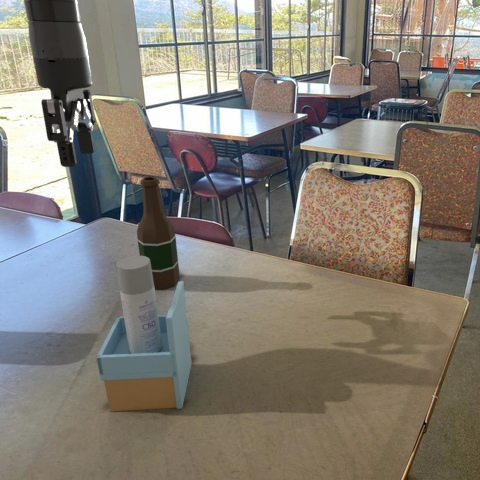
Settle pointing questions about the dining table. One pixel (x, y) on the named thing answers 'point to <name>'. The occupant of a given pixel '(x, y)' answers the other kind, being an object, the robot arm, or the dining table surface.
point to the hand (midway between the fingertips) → (79, 159)
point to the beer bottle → (157, 237)
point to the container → (139, 304)
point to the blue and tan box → (148, 364)
